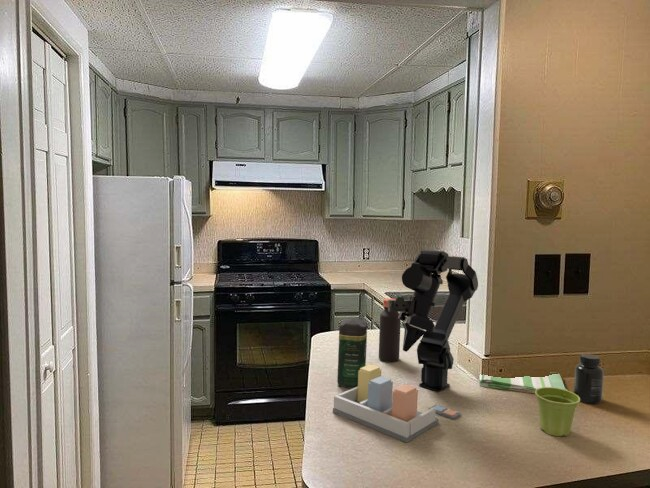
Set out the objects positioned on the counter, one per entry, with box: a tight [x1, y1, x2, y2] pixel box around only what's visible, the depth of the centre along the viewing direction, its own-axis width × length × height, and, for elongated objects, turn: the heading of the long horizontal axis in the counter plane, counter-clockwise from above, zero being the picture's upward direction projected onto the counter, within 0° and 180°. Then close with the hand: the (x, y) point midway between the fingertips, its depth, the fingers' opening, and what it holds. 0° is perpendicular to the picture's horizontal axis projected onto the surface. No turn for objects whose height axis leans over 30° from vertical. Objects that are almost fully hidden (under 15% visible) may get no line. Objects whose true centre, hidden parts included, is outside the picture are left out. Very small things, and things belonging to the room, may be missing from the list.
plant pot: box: [534, 387, 581, 437], centre depth 114 cm, size 9×9×9 cm
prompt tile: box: [428, 404, 462, 420], centre depth 123 cm, size 7×4×1 cm, turn 47°
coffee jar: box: [336, 317, 368, 389], centre depth 141 cm, size 10×8×19 cm
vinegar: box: [378, 297, 402, 363], centre depth 162 cm, size 7×7×20 cm
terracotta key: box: [392, 383, 419, 422], centre depth 113 cm, size 4×5×9 cm
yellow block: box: [358, 363, 382, 402], centre depth 126 cm, size 4×5×9 cm
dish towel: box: [478, 373, 569, 394], centre depth 146 cm, size 18×23×3 cm
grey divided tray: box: [332, 386, 440, 443], centre depth 119 cm, size 22×14×4 cm, turn 47°
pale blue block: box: [367, 375, 394, 413], centre depth 117 cm, size 4×5×9 cm
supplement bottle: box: [573, 353, 605, 405], centre depth 133 cm, size 7×7×12 cm
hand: (404, 351), depth 130 cm, fingers closed
